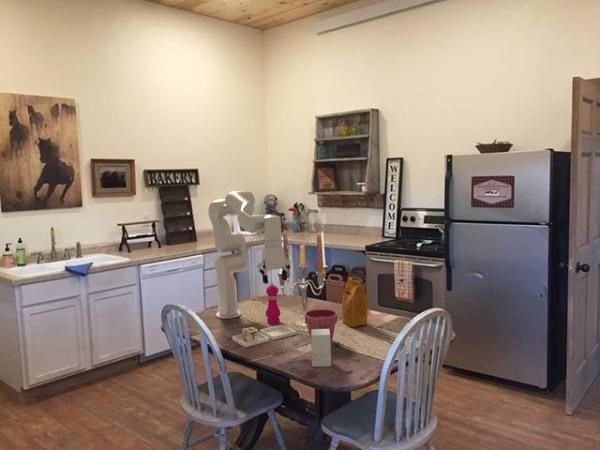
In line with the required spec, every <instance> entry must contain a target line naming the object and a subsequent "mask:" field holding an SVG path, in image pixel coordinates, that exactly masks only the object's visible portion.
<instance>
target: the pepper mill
mask: <svg viewBox="0 0 600 450" xmlns="http://www.w3.org/2000/svg"><path fill="white" fill-rule="evenodd" d="M265 293H266V296H267V297H266V298H267V300H268V305H267V307H266V309H265V317H266V318H267V319H266V322H267V323H268V324H272V325H277V324H279V323H280V322H281V320H280V319H281V318H280V316H281V310H280V307H279V305H278V302H277V301H278V293H279V288H278V287H277V286H276V285H275V284H274V282H270V283H269V285H268V286H267V287H266V289H265Z"/></svg>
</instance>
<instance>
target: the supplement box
mask: <svg viewBox="0 0 600 450" xmlns="http://www.w3.org/2000/svg"><path fill="white" fill-rule="evenodd" d="M310 342H311V346H310V347H311V364H312V365H311V366H312V367H313V368H317V367H331V366H332V352H331V351H332V349H331V348H332V347H331V344H332V343H330V331H329V329H311V339H310Z"/></svg>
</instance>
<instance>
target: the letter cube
mask: <svg viewBox="0 0 600 450" xmlns="http://www.w3.org/2000/svg"><path fill="white" fill-rule="evenodd" d="M244 328H245V329H242V330H243V340H244V341H245V342H247V343H248V342H252V341H256V340H258V332H259V329H257V328H255V327H254V326H251V327H244Z"/></svg>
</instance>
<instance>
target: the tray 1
mask: <svg viewBox="0 0 600 450" xmlns="http://www.w3.org/2000/svg"><path fill="white" fill-rule="evenodd" d="M231 340H232V341H233V342H235V343H237V344H239V345H240V346H242V347H244V348H249V347H251V346H257V345H259V344H264V343H267V342H270V338H269V337H267V336H265V335H263V334H261V333H260V331H258V340H256V341H252V342H248V343H247V342H245V341H244V340H243V334H240V335H236V336H232V338H231Z"/></svg>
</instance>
